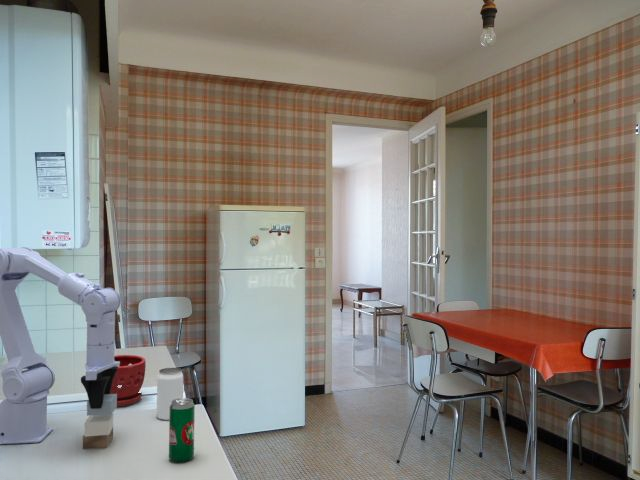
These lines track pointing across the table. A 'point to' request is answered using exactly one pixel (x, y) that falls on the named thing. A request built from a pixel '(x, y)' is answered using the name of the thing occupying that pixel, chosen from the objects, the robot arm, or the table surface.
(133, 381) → the plant pot
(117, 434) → the table surface
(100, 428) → the cream block
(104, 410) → the slate block
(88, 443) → the walnut block
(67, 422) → the table surface
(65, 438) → the table surface
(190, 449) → the soda can
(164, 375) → the can
